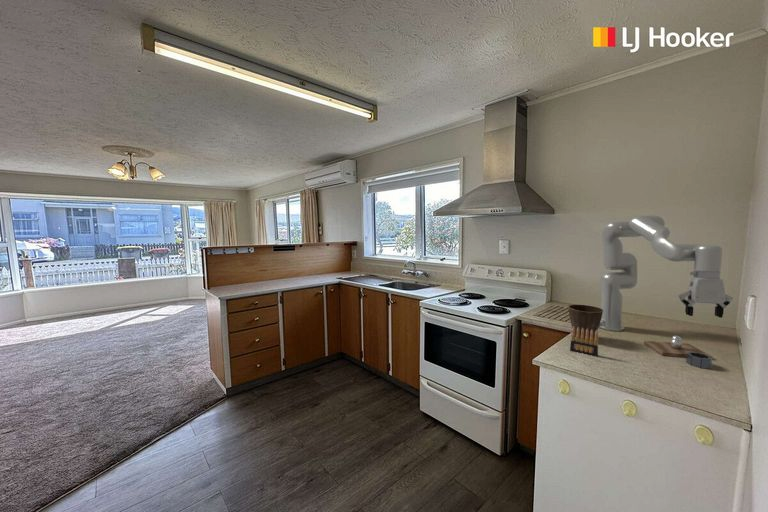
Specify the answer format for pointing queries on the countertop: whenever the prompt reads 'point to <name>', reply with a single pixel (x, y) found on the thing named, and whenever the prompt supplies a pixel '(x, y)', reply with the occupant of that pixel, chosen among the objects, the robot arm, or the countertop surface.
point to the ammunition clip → (585, 345)
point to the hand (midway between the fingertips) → (703, 315)
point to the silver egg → (676, 342)
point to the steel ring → (699, 360)
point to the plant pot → (585, 318)
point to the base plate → (666, 349)
